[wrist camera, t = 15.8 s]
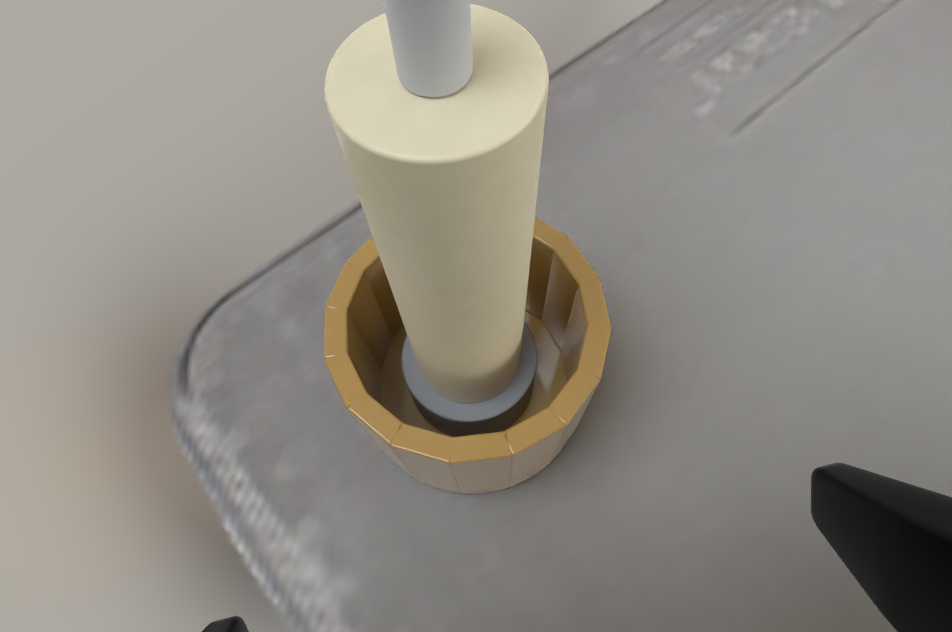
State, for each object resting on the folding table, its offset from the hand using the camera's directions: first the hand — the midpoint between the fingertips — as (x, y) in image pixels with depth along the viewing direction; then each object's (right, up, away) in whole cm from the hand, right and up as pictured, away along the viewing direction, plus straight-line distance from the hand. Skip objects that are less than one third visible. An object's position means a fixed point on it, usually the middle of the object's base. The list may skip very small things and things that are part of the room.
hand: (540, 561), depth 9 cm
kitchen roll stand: (-1, +2, +10) cm, 10 cm away
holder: (-1, +1, +10) cm, 10 cm away
